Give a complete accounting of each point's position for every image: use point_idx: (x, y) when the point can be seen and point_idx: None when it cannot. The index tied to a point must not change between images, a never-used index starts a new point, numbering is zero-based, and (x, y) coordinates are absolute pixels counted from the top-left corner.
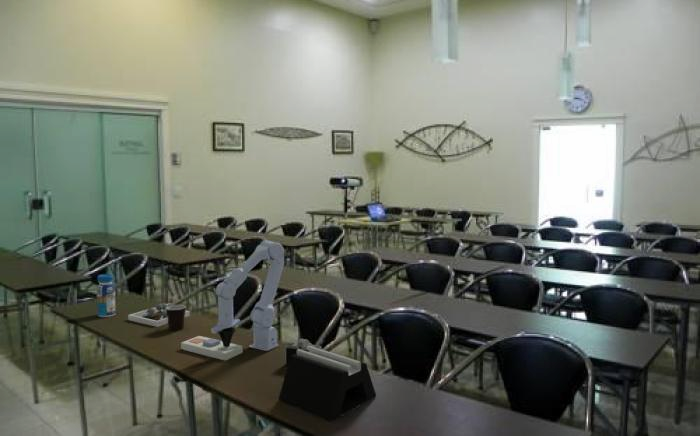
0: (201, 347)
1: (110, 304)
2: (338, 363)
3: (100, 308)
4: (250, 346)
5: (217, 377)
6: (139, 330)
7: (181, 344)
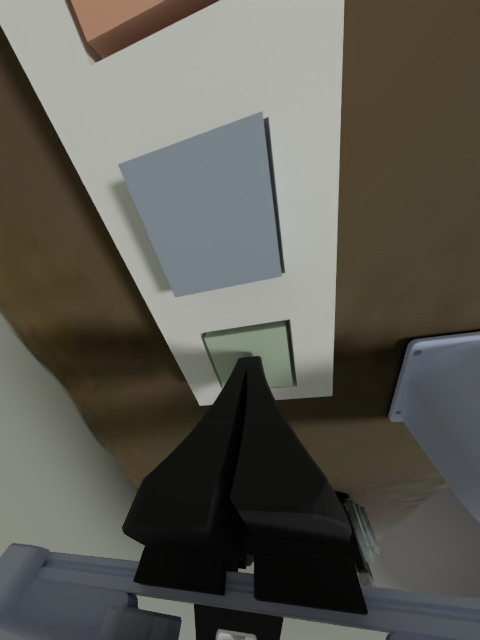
0: (113, 233)
1: None
2: None
3: None
4: (409, 353)
5: (132, 435)
6: None
7: None
